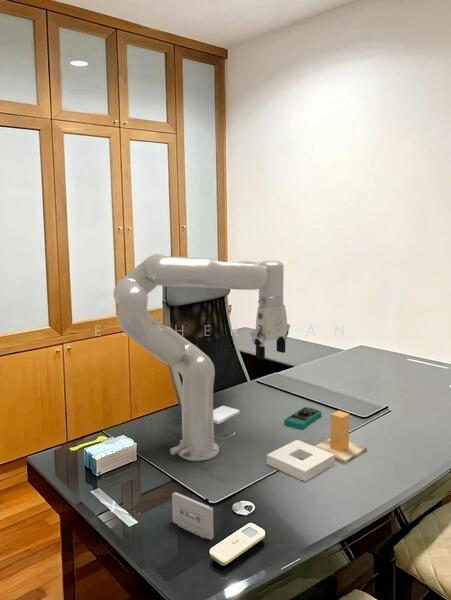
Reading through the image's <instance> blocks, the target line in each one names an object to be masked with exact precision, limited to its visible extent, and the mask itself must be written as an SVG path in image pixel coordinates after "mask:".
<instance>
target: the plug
mask: <svg viewBox="0 0 451 600" xmlns="http://www.w3.org/2000/svg"><path fill="white" fill-rule="evenodd" d="M350 415H351V414H350V413H348V412H345V411H342V410H337V411H335V412H333V413H331V414H330V435H329V436H330V437H329V438H330V448H331V449H334V450H337V451H339V452H343V451H344V450H346V449H348V448H349V442H350V419H351V418H350V417H351V416H350Z"/></svg>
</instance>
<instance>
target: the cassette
mask: <svg viewBox="0 0 451 600" xmlns="http://www.w3.org/2000/svg"><path fill="white" fill-rule="evenodd" d="M171 506H172V507H171V509H172V522H173V524H175V525H177V526H178V527H179V528H182V529H184V530H186V531H188V532H189V533H192V534H194V535H196V536H199V537H200V538H203V539H208V540H210V541H211V540H213V539H214V532H215V531H214V508H213V507H212V506H209V505H207V504H205V503H202V502H199V501H197V500H195V499H193V498H190V497H188V496H186V495H184V494H181V493H179V492H176V491H174V492H173V493H171Z"/></svg>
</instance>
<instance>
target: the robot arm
mask: <svg viewBox="0 0 451 600" xmlns="http://www.w3.org/2000/svg"><path fill="white" fill-rule="evenodd" d="M284 270H285V269H284V264H283V262H282V261H279V260H264V261H250V260H241V261H238V262H226V261H221V260H216V259H212V258H206V257H190V256H189V257H187V256H169V255H168V256H167V255H163V254H158V253H157V254H152V255H150V256H148V257H147V258H145V259H144V260H143V261H142V262H141V263H140V264H138V265H137V266H136V267H135V268H134V269H132V270H131V271H130V272H129V273H127V274H126V275H125V276H124V277H123V278H122V279H120V280H119V281H118V282H117V284H116V285H115V287H114V289H113V299H114V301H115V302H116V304H117V320H118V325H119V326H120V328H121V330H122V331H123V333H124V334H125V335H127V336H128V337H129V339H131V340H132V341H134V342H135V343H136V344H137V345H139V346H140V347H142V348H143V349H144V350H146V351H147V352H149V354H152V356H153V357H154V358H156V359H157V360H158V361H159V362H162V363H163V364H168V365H169V366H170V367H172V368H173V369H175V370H176V371H177V372H178V373H179V374H180V375H181V378H182V386H181V430H182V431H181V432H182V439H180V440H179V443H178V445H176V446H174V447H171V448H170V449H169V452H170V453H169V454H170V455H172V456H174V455H176V454H178V456H179V457H181V458H182V459H184V460H187V461H192V462H203V461H208V460H212V459H214V458H215V457H216V456H218V455H219V452H220V446H219V445H218V444H217V443H216V442H215V439H214V436H215V435H214V431H215V429H214V422H213V410H214V383H215V375H216V374H215V373H216V371H215V370H216V369H215V365H214V363H213V361H212V360H211V358H210V357H209V356H208V355H207V354H205V352H204V351H202V350H201V349H200V348H199V347H197V346H196V345H195V344H193V343H192V342H191V341H189V340H188V339H186V338H185V337H184V336H183V335H181V334H180V333H178V332H177V331H176V330H174V329H173V328H172V327H170V326H167V325H163V324H161V323H160V322H159V321H158V320H157V319H156V318H154V317H153V316H152V315H150V313H149V310H148V302H149V295H148V294H149V293H151V292H152V291H153V290H154V289H155V288H156V287H157V286H159V287H160V286H161V287H183V288H184V287H188V288H206V289H223V290H224V289H227V290H241V291H242V290H246V291H247V290H248V291H249V290H251V291H253V290H254V291H255V290H258V299H257V300H258V301H257V303H258V306H257V311H256V321H255V329H253V331H251V332H250V333H249V334H250V337H251V341H252V343H253V345H254V346H255V357H256V359H260V360H265V358H266V357H265V356H266V352H265V351H266V349H265V348H266V347H265V346H264V345H265V343H266V342H267V341H271V340H274V339H276V352H277V353H282V354H284V353H286V341H287V336H288V335H289V331H290V328H291V325H290V324H289V323H288V319H287V316H288V315H287V311H286V305H285V304H284V272H285V271H284Z"/></svg>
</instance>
